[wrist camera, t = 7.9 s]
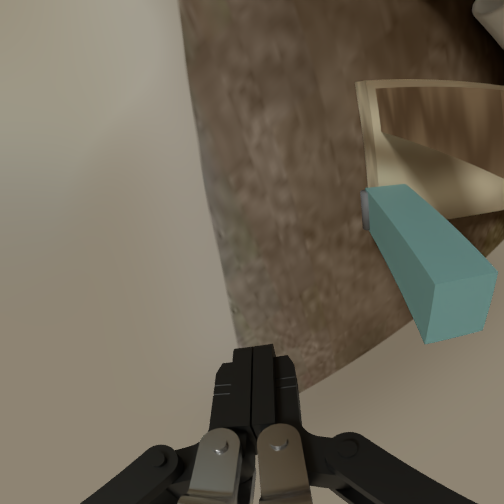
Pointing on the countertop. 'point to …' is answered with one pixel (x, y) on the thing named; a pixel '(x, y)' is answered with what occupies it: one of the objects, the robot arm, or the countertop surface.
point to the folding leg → (429, 262)
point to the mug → (491, 17)
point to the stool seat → (436, 141)
